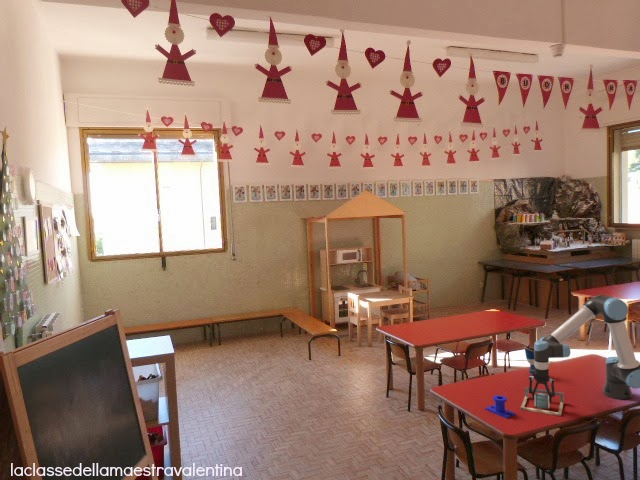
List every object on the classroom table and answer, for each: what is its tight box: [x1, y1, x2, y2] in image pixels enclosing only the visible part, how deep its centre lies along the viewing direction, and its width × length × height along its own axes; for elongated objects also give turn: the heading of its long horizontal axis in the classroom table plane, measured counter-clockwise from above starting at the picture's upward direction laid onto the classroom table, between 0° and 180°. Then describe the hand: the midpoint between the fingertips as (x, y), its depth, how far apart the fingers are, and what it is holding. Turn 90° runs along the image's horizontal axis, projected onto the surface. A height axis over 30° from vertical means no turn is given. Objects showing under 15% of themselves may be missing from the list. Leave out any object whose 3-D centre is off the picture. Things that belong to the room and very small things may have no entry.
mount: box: [484, 394, 517, 419], centre depth 273 cm, size 15×8×9 cm, turn 31°
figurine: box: [524, 346, 535, 376], centre depth 329 cm, size 13×9×20 cm
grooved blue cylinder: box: [535, 392, 549, 410], centre depth 278 cm, size 6×6×7 cm
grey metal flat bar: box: [524, 387, 565, 404], centre depth 287 cm, size 21×2×6 cm, turn 59°
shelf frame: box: [520, 395, 565, 417], centre depth 279 cm, size 21×20×1 cm
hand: (542, 406), depth 278 cm, fingers closed on grooved blue cylinder, 6 cm apart
